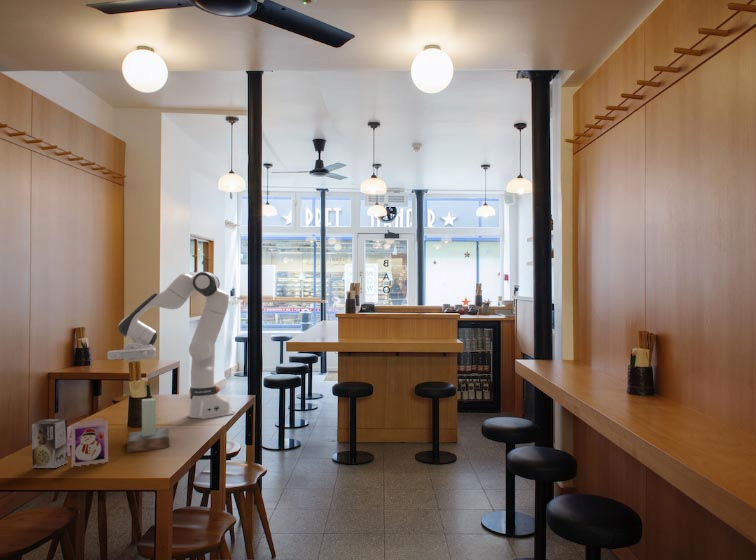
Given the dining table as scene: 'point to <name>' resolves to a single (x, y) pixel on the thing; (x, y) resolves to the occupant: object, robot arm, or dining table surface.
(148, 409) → the sage pillar
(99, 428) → the greeting card
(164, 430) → the walnut plinth
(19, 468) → the dining table surface
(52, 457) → the coffee box
